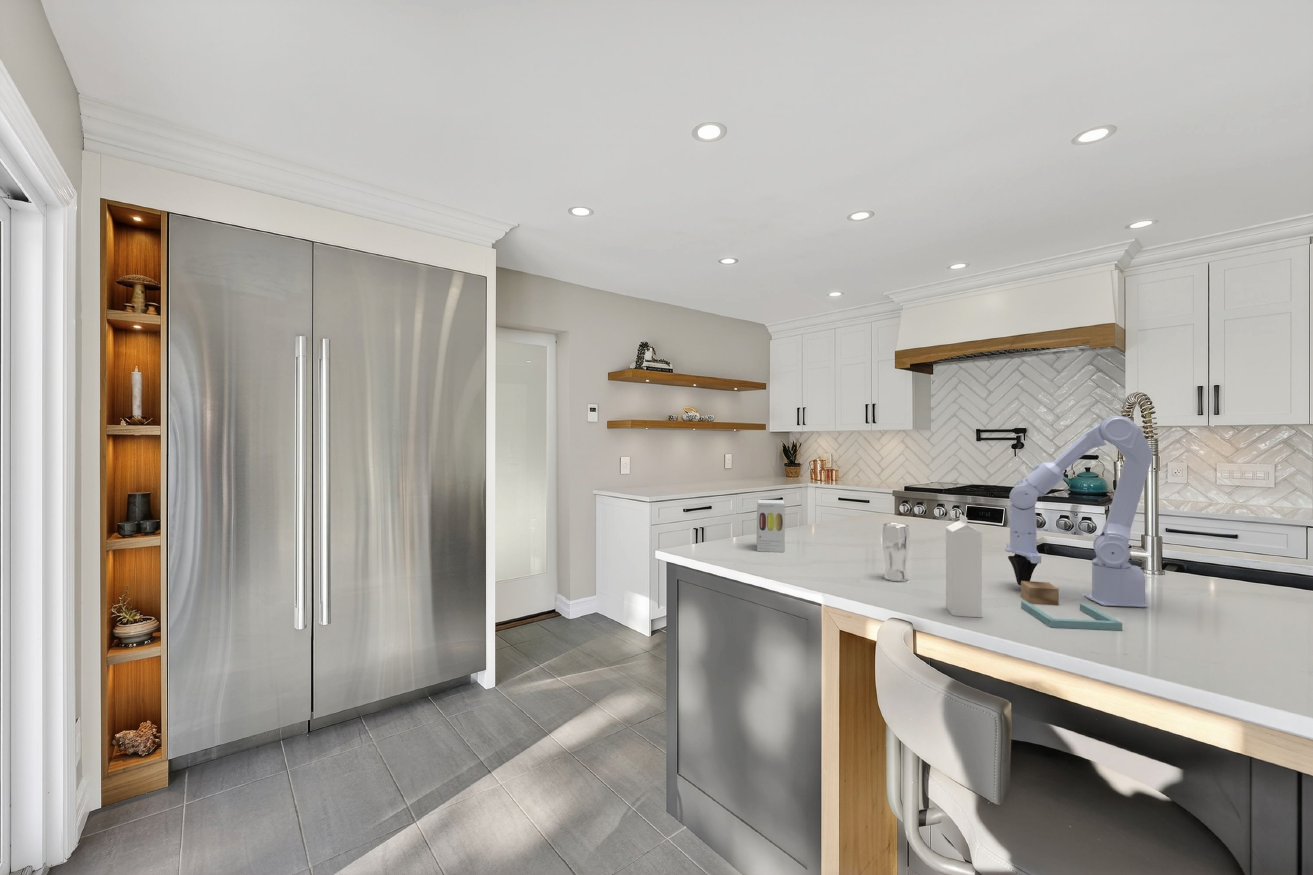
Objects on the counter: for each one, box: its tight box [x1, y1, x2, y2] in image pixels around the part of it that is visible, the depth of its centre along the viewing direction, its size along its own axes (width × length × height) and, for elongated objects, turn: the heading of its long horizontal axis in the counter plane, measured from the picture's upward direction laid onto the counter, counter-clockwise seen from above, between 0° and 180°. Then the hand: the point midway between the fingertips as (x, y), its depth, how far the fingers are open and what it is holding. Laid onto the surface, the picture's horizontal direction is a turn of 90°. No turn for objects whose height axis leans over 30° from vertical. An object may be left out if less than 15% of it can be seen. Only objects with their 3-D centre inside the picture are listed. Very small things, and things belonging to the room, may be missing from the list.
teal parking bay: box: [1020, 600, 1123, 631], centre depth 125 cm, size 13×13×2 cm
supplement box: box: [756, 499, 786, 553], centre depth 198 cm, size 10×9×17 cm
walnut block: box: [1020, 580, 1060, 606], centre depth 138 cm, size 6×6×4 cm
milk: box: [945, 513, 983, 618], centre depth 129 cm, size 6×6×22 cm
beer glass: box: [881, 522, 911, 583], centre depth 158 cm, size 7×7×15 cm
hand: (1023, 585), depth 146 cm, fingers closed
